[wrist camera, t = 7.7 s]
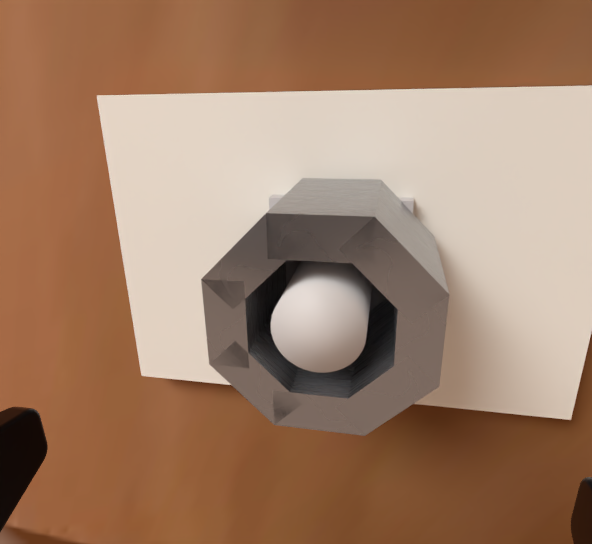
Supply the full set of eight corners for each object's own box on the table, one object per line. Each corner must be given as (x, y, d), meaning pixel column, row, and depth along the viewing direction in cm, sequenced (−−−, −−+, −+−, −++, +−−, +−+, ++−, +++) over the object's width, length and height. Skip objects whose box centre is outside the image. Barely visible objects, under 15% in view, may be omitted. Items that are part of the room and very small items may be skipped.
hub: (439, 180, 15) (457, 219, 11) (423, 351, 18) (432, 443, 13) (250, 177, 16) (194, 210, 12) (258, 337, 19) (214, 417, 14)
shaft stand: (630, 84, 15) (795, 81, 9) (560, 401, 19) (638, 547, 13) (114, 95, 18) (-28, 97, 12) (153, 362, 23) (63, 463, 16)
